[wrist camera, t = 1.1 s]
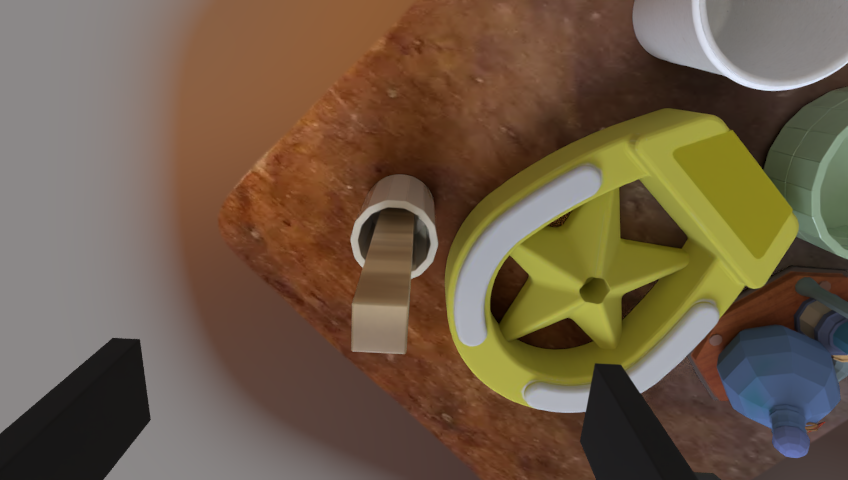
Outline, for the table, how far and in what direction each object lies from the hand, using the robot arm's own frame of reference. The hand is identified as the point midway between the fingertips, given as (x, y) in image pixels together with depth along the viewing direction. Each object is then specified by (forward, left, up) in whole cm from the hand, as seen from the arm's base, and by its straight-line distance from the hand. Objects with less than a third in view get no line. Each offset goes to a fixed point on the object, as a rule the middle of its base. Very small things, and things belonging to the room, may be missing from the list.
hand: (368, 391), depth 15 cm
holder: (0, 0, -20) cm, 20 cm away
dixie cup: (-13, +16, -20) cm, 29 cm away
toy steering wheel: (+3, +13, -20) cm, 24 cm away
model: (+8, +27, -20) cm, 35 cm away
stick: (0, 0, -20) cm, 20 cm away
